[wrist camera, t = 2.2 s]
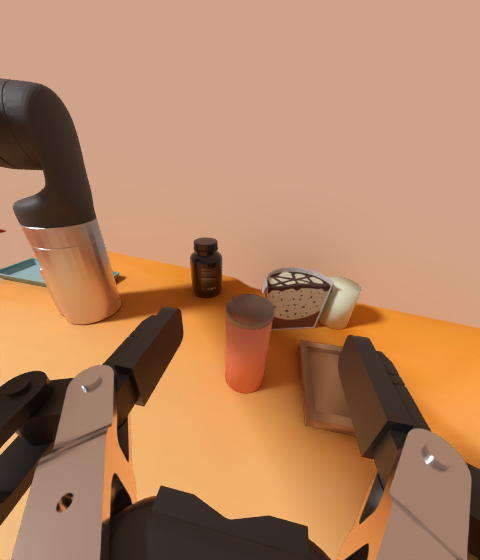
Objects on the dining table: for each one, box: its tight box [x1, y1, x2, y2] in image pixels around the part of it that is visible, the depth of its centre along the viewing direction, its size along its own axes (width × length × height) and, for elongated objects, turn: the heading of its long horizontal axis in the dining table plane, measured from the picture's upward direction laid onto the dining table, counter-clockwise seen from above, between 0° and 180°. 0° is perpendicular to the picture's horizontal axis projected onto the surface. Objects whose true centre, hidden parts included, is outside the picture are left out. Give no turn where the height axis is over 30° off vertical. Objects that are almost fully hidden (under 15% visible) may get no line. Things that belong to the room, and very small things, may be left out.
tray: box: [298, 340, 356, 436], centre depth 28 cm, size 12×12×2 cm
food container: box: [262, 267, 334, 331], centre depth 38 cm, size 12×6×10 cm, turn 97°
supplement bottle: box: [190, 238, 222, 298], centre depth 45 cm, size 7×7×12 cm
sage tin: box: [318, 277, 361, 330], centre depth 39 cm, size 6×6×8 cm
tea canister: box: [225, 294, 274, 393], centre depth 26 cm, size 6×6×12 cm
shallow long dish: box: [0, 258, 119, 287], centre depth 49 cm, size 26×9×2 cm, turn 78°
